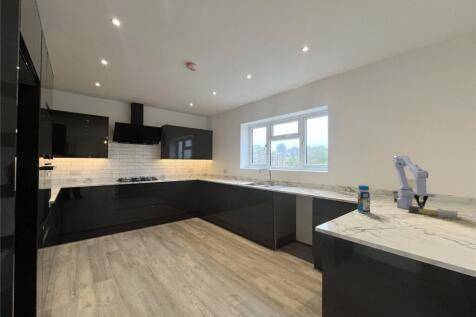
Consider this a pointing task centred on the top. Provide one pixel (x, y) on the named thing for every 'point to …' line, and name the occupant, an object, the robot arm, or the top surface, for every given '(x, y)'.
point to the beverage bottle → (363, 199)
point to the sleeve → (447, 214)
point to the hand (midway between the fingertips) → (421, 206)
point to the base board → (435, 216)
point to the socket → (413, 209)
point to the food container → (395, 195)
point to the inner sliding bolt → (429, 211)
